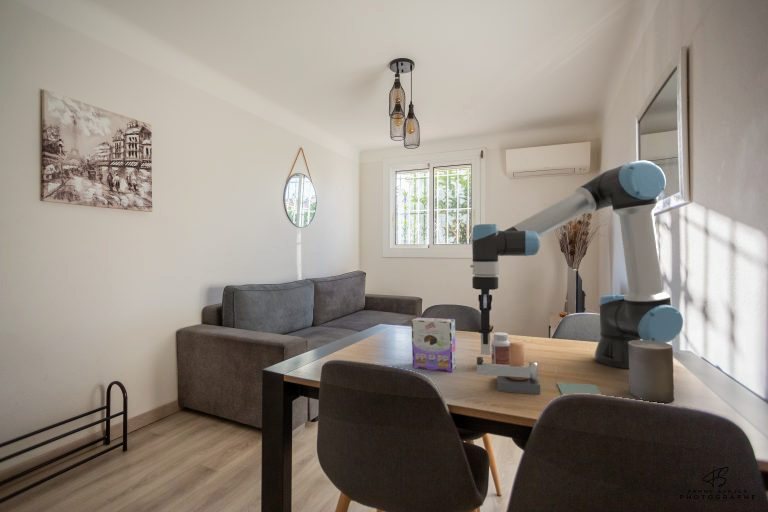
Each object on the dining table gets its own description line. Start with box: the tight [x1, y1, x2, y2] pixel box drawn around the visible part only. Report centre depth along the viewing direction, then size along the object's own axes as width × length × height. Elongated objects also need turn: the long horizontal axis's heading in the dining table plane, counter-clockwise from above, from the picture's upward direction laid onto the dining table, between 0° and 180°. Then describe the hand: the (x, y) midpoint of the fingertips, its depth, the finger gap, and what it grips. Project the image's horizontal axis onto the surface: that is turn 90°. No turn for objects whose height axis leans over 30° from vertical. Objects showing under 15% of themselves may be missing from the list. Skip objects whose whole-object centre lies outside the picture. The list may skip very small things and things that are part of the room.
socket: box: [496, 376, 541, 395], centre depth 109 cm, size 11×11×2 cm
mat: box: [556, 382, 602, 395], centre depth 104 cm, size 10×10×1 cm
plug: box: [505, 342, 529, 381], centre depth 109 cm, size 7×7×12 cm
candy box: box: [410, 316, 457, 373], centre depth 127 cm, size 14×6×16 cm, turn 65°
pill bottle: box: [490, 331, 511, 365], centre depth 127 cm, size 6×6×11 cm
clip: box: [476, 356, 539, 383], centre depth 106 cm, size 16×2×6 cm, turn 74°
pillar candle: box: [628, 339, 675, 403], centre depth 100 cm, size 10×10×15 cm
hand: (485, 353), depth 114 cm, fingers closed
